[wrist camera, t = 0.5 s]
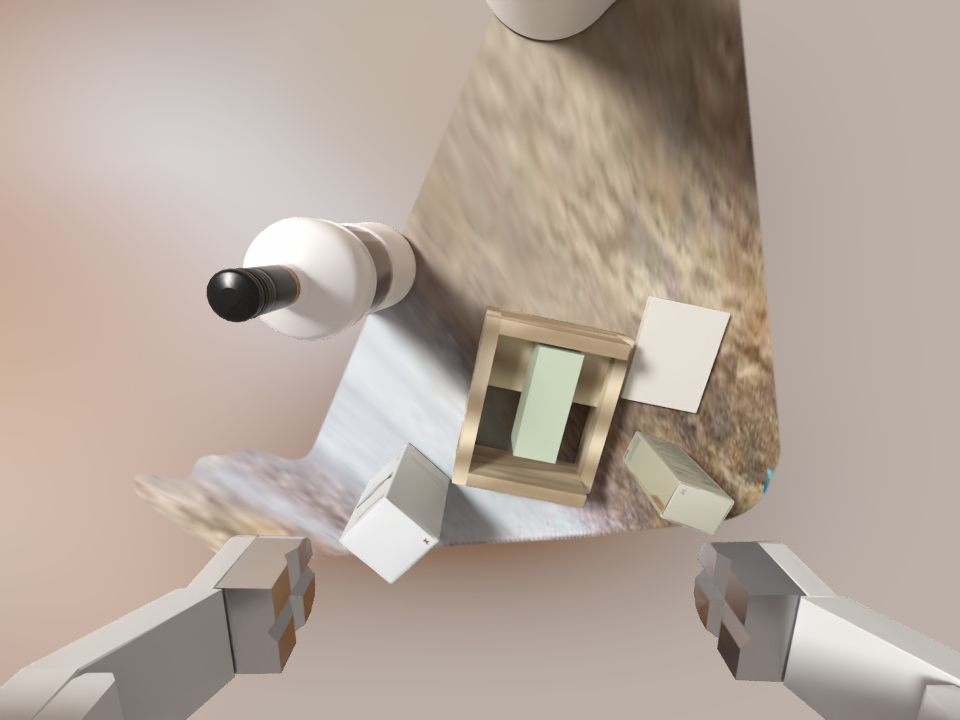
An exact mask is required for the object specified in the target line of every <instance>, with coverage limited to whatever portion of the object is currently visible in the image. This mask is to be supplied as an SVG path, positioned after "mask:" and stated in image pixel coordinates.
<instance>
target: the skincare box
mask: <svg viewBox="0 0 960 720" xmlns="http://www.w3.org/2000/svg"><path fill="white" fill-rule="evenodd" d="M622 460H623V462H624V463H625V465H626V466H627V468H628V469H629V471H630V472H631V474H632V475H633V477H634V478H635V479H636V481H637V482H638V484H639V486H640V487H641V488H642V490H643V491H644V493H645V494H646V496H647V497H648V499H649V500H650V502H651V503H652V505H653V506H654V508H655V509H656V511H657V512H658V514H659V515H660V517H661V518H664V519H666V520H669V521H671V522H674V523H676V524H679V525H682V526H685V527H688V528H691V529H694V530H697V531H700V532H703V533H706V534H710V535H714V534H715V533H716V531H717V530H718V528H719V527H720V525H721V524H722V522H723V521H724V519H725V517H726V516H727V514H728V513H729V511H730V509H731V508H732V506H733V504H734V501H733V499H732V498H731V497H730V496H729V495H728V494H727V493H726V492H725V491H724V490H723V489H722V488H721V487H720V486H719V485H718V484H717V483H716V482H715V481H714V480H713V479H712V478H711V477H710V476H709V475H708V474H707V473H706V472H705V471H704V470H703V469H702V468H701V467H700V466H699V465H698V464H697V463H696V462H695V461H694V460H693V459H692V458H691V457H690V456H689V455H688V454H687V453H686V452H685V451H684V450H683V449H682V448H681V447H680V446H677V445H675V444H672V443H670V442H667V441H665V440H662V439H659V438H657V437H654V436H651V435H648V434H645V433H642V432H639V431H637V432H636V433H635V435H634V437H633V439H632V440H631V442H630V444H629V446H628V448H627V450H626V452H625V454H624V456H623V459H622Z"/></svg>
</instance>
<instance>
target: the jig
mask: <svg viewBox="0 0 960 720" xmlns="http://www.w3.org/2000/svg"><path fill="white" fill-rule="evenodd" d="M534 341H535V342H540V343H545V344H550V345H555V346H560V347H564V348H569V349H574V350H579V351H581V352H582V353H583V355H584V359H583V363H582V366H581V370H580V374H579V377H578V381H577V385H576V388H575V392H574V396H573V400H572V402H574V403H579V404H584V405H589V406H590V408H589V412H588V415H587V419H586V423H585V426H584V430H583V433H582V437H581V440H580V444H579V447H578V451H577V454H576V458H575V461H574V464H573V463H568V462H563V461H558V460H556V462H555V464H554V463H549V462H543V461H538V460H533V459H528V458H523V457H518V456H513V452H512V451H507V450H502V449H497V448H492V447H487V446H482V445H476V444H475V440H476V436H477V431H478V426H479V422H480V417H481V413H482V408H483V404H484V399H485V395H486V390H487V386H488V385H490V386H495V387H500V388H505V389H510V390H515V391H520V392H522V388H523V384H524V380H525V376H526V372H527V367H528V363H529V359H530V355H531V351H532V347H533V343H534ZM634 343H635V341H633V340H632V339H630V338H629V337H627V336H626V335H624V334H620V333H615V332H611V331H606V330H601V329H596V328H591V327H587V326H582V325H577V324H572V323H567V322H563V321H558V320H553V319H548V318H543V317H539V316H534V315H529V314H524V313H519V312H515V311H510V310H505V309H500V308H495V307H491V306H487V308H486V313H485V318H484V322H483V327H482V332H481V337H480V341H479V346H478V351H477V356H476V360H475V365H474V370H473V375H472V379H471V384H470V389H469V394H468V398H467V403H466V408H465V412H464V417H463V422H462V427H461V431H460V436H459V441H458V446H457V450H456V457H455V463H454V470H453V477H452V483H454V484H459V485H465V486H470V487H475V488H480V489H485V490H491V491H496V492H501V493H506V494H511V495H516V496H522V497H527V498H532V499H537V500H542V501H548V502H553V503H558V504H563V505H568V506H573V507H579V508H583V507H584V504H585V500H586V497H587V496H586V493H588V494H590V491H591V487H592V484H593V481H594V477H595V474H596V470H597V467H598V464H599V460H600V457H601V454H602V450H603V447H604V444H605V440H606V437H607V434H608V430H609V427H610V423H611V420H612V417H613V413H614V410H615V407H616V403H617V400H618V397H619V393H620V390H621V387H622V383H623V380H624V377H625V373H626V370H627V366H628V363H629V360H630V356H631V353H632V350H633V346H634Z"/></svg>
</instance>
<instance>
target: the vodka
mask: <svg viewBox="0 0 960 720" xmlns="http://www.w3.org/2000/svg"><path fill="white" fill-rule="evenodd" d="M415 275H416V261H415V256H414V253H413V250H412V248H411V246H410V245H409V243H408V241H407V240H406V239H405V238H404V237H403V236H402V234H400V233H399V232H398V231H397V230H395V229H394V228H392V227H390V226H388V225H385V224H381V223H376V222H363V223H357V224H354V223H340V224H337V223H335V222H332V221H328V220H323V219H316V218H310V217H293V218H287V219H283V220H281V221H278V222H276V223H274V224H272V225H270V226H269V227H268V228H267V229H265V230H264V231H263V232H262V233H260V234H259V235H258V236H257V237H256V239H255V240H254V241H253V242H252V244H251V245H250V247H249V249H248V252H247V254H246V256H245V259H244V266H243V268H236V269H225V270H222V271H219V272H218V273H216V274H215V275H214V276H213V277H212V278H211V279H210V281H209V283H208V286H207V298H208V302H209V304H210V306H211V308H212V309H213V311H214V312H215V313H217V315H219V316H220V317H221V318H223V319H225V320H227V321H232V322H244V321H247V320H249V319H252V318H256V317H258V316H259V317H260V318H261V320H262V321H263V322H265V323H266V324H267V325H268V326H269V327H271V328H272V329H274V330H276V331H277V332H279V333H281V334H283V335H286V336H289V337H293V338H296V339H300V340H310V341H317V340H323V339H328V338H331V337H333V336H336V335H338V334H340V333H342V332H343V331H345V330H346V329H347V328H349V327H351V326H353V325H354V324H356V323H357V322H358V321H359V320H360V319H361V318H362V317H363V316H367V315H370V314H372V313H374V312H376V311H378V310H381V309H385V308H388V307H390V306H392V305H395V304H396V303H398V302H399V301H401V300H402V299H403V298H404V297H405V296H406V295H407V294H408V292H409V291H410V289H411V287H412V285H413V283H414V280H415Z"/></svg>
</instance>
